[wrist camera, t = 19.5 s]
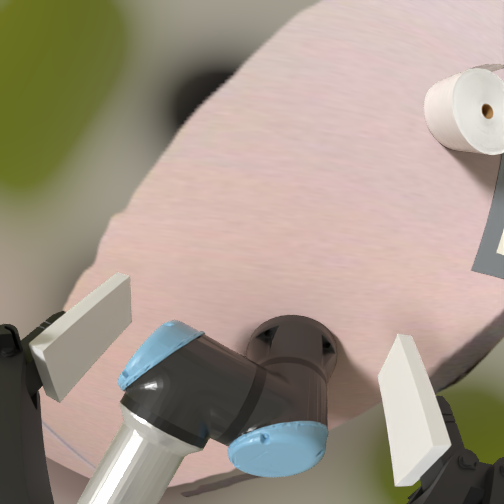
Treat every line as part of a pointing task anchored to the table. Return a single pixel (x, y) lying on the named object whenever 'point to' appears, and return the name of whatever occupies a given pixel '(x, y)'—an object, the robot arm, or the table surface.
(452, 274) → the table surface
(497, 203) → the label mat
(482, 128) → the toilet tissue
